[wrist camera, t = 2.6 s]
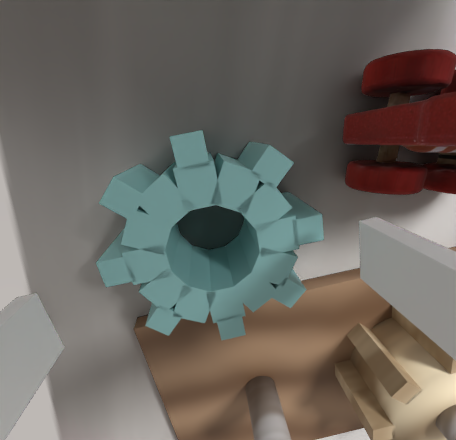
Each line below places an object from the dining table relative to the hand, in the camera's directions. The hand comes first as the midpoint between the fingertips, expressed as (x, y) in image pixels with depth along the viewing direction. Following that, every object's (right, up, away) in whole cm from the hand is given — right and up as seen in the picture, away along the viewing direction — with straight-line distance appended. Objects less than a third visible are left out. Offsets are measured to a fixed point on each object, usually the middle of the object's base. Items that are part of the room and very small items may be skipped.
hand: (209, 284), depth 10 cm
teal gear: (0, +3, +7) cm, 7 cm away
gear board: (+9, -10, +12) cm, 18 cm away
